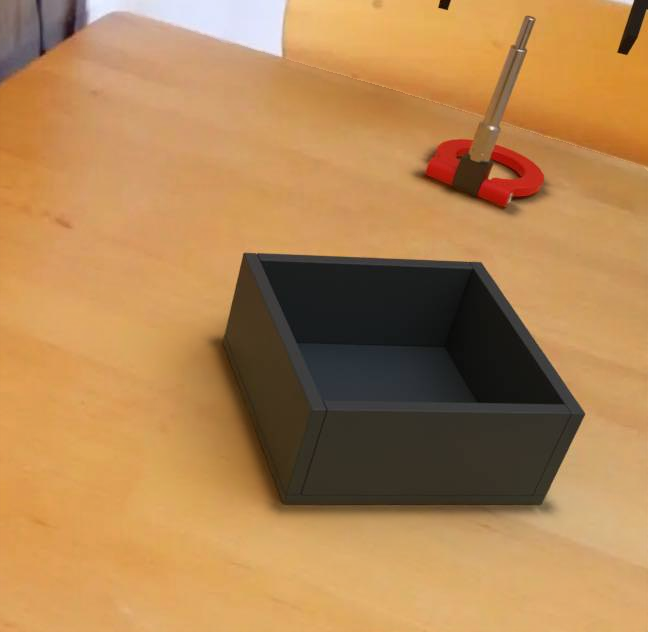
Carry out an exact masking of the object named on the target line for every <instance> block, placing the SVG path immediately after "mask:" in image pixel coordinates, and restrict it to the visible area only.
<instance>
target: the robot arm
mask: <svg viewBox="0 0 648 632" xmlns="http://www.w3.org/2000/svg"><path fill="white" fill-rule="evenodd" d="M451 1H452V0H439V2H438V9H440V10H445V11H449V9H450V5H451ZM647 10H648V0H633V1H632V5H631V7H630V11H629V14H628V17H627V21H626V23H625V26H624V30H623V33H622V36H621V39H620V42H619V45H618V48H617V51H616V53H617V54H621V55H625V56H628V54H629V52H630V51H631V49H632V48H633V46H634V45H635V43H636V41H637V40H638V37H639V34H640V31H641V29H642V25H643V23H644V20H645V16H646V13H647Z"/></svg>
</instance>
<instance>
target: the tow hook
mask: <svg viewBox="0 0 648 632" xmlns="http://www.w3.org/2000/svg"><path fill="white" fill-rule="evenodd" d="M536 20H537V18H536V17H534V16H532V15H525V16H524V18H523V21H522V23H521V26H520V29H519V32H518V34H517V37H516V39H515V42H514V44H512V45H511V44H510V47H509V50H508V53H507V55H506V58H505V61H504V64H503V66H502V69H501V72H500V75H499V77H498V80H497V83H496V85H495V87H494V90H493V93H492V96H491V99H490V102H489V105H488V107H487V110H486V113H485V115H484V118H483V120H482V121H480V122H479V123H478V126H477V129H476V131H475V133H474V136H473V138H472V139H467V138H458V139H455V138H454V139H449V140H445V141H442V142H441V143H440V144H439V145H437V147H436V151H435V153H434V156H433V157H431V158H430V160H429V162H428V164H427V166H426V169H425V175H426V176H429V178H433V179H435V180H438V181H441V182H443V183H446V184H448V185H450V186H451V187H452V188H453V189H456V190H459V191H461V192H463V193H466V194H467V195H471V196H473V197H476V198H478V197H480V198H482V199H484V200H486V201H489V202H492V203H494V204H497V205H499V206H502V207H504V208H506V207H508V205H510V203H511V201H512V199H513V198H514V197H516V198H517V197H527V196H531V195H535V194H536V193H538V192H539V191H540V190H541V188H542V185H543V183H544V181H545V174H544V172H543V171H542V169H541V168H540V167H539V166H538V165H537V164H536V163H535V162H534V161H533V160H531V159H530V158H528V157H526V156H525V155H522V154H521V153H519V152H518V151H515V150H513V149H510V148H507V147H505V146H502V145H499V144H497V141H498V138H499V136H500V133H501V127H500V125H501V122H502V119H503V117H504V114H505V111H506V108H507V105H508V103H509V101H510V99H511V96H512V93H513V90H514V87H515V85H516V82H517V79H518V76H519V74H520V72H521V69H522V66H523V64H524V61H525V58H526V56H527V53H528V48H527V44H528V42H529V39H530V37H531V34H532V31H533V29H534V26H535V23H536ZM459 157H460V159H458V158H459ZM495 162H498V163H501V164H503V165H505V166H507V167H509V168H511V169H512V170H514V171H515V172H516V173H517V174H518V175H519V176H520V177H519V178H502V177H491V179H489V176H490V174H491V172H492V168H493V166H494V164H495Z"/></svg>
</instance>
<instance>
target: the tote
mask: <svg viewBox="0 0 648 632" xmlns="http://www.w3.org/2000/svg"><path fill="white" fill-rule="evenodd" d="M222 344H223V347H224V349H225V352H226V354H227V355H226V356H227V357H228V361H229V363H230V365H231V368H232V370H233V373H234V376H235V378H236V381H237V384H238V387H239V389H240V392H241V395H242V397H243V400H244V402H245V405H246V408H247V411H248V414H249V416H250V419H251V421H252V424H253V427H254V429H255V432H256V435H257V437H258V440H259V443H260V446H261V449H262V451H263V453H264V456H265V459H266V462H267V465H268V466H269V469H270V473H271V474H272V477H273V480H274V483H275V485H276V488H277V491H278V493H279V496H280V499H281V501H282V504H283V505H542V504H543V503H544V500H545V499H546V497H547V496H548V495H547V494H548V493H549V490H550V488H551V486H552V484H553V482H554V481H555V479H556V476H557V474H558V472H559V470H560V467H561V466H562V463H563V462H564V459H565V457H566V455H567V453H568V451H569V449H570V447H571V446H572V443H573V441H574V439H575V436H576V434H577V433H578V431H579V428H580V427H581V424H582V422H583V420H584V418H585V416H586V411H584V408H582V406H581V404H579V402H578V401H577V399H576V397H575V396H574V395H573V393H572V392H571V390H570V389H569V387H568V386H567V384H566V383H565V381H564V380H563V379H562V377H561V376H560V374H559V373H558V371H557V369H556V368H555V367H554V366H553V364H552V362H551V361H550V360H549V358H548V357H547V355H546V354H545V353H544V351H543V350H542V348H541V347H540V345H539V344H538V343H537V341H536V339H535V338H534V336H533V335H532V334H531V332H530V331H529V330H528V327H527V326H526V324H525V323H524V322H523V321H522V319H521V317H520V316H519V315H518V313H517V312H516V310H515V309H514V308H513V306H512V304H511V302H509V300H508V299H507V297H506V296H505V295H504V293H503V291H502V290H501V288H500V287H499V286H498V284H497V283H496V281H495V279H494V278H493V277H492V276H491V274H490V272H489V271H488V269H487V268H486V267H485V265H484V264H483V262H482V261H461V260H459V261H458V260H437V259H435V260H434V259H416V258H415V259H414V258H412V259H410V258H389V257H388V258H387V257H365V256H364V257H362V256H361V257H360V256H341V255H340V256H339V255H338V256H337V255H314V254H289V253H268V252H267V253H266V252H265V253H264V252H243V253H242V257H241V263H240V266H239V270H238V276H237V278H236V283H235V288H234V293H233V296H232V301H231V305H230V310H229V314H228V318H227V323H226V327H225V331H224V335H223V340H222Z"/></svg>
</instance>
